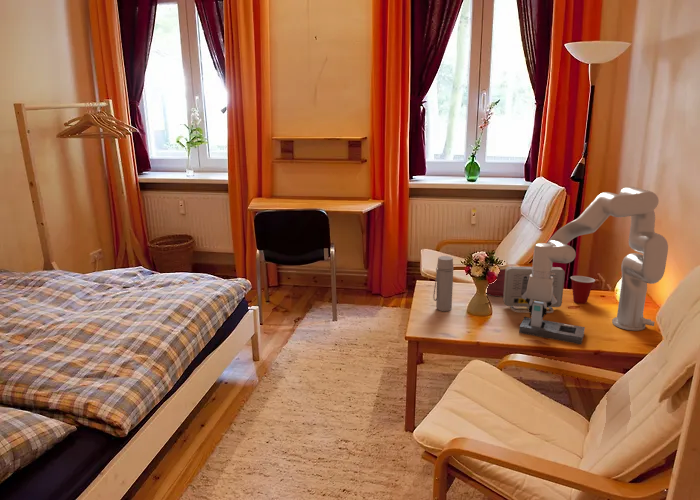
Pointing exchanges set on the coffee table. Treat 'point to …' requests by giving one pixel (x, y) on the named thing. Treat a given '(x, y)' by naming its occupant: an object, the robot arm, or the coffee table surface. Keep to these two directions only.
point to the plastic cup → (581, 288)
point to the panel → (553, 331)
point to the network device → (518, 285)
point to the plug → (537, 314)
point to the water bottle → (444, 283)
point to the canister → (498, 282)
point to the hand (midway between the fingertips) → (537, 314)
